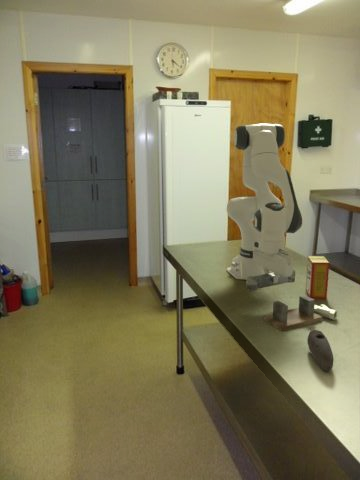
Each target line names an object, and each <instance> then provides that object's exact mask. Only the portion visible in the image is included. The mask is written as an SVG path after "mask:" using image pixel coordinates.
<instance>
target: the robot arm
mask: <svg viewBox="0 0 360 480" xmlns="http://www.w3.org/2000/svg"><path fill="white" fill-rule="evenodd" d="M232 139H233V144H234V147H235V148H236V149H238V150H241V151H243V159H242V184H243V185H244V186H245V187H246V188H248V189H250V190H251V191H253V192H254V193H255V196H239V197H234V198H230V200H229V201H227V202H228V203H226V204H227V205H226V213H227V216H228V217H229V218H230V219H231V220H232V221H233V222H235V223H236V225H237V226H238V228H239V230H240V235H241V247H240V248H238V250H239V253H238V255H237V256H235V257H233V258H232V260H231V266H229V267H227V268H226V272H228V273H229V274H230V275H231V276H232V277H234V279H236V280H243V281H244V280H246V279H247V277H250V276H259V275H264V274H269V273H270V272H271V273H274V277H273V278H272V282H274V283H277V282H278V278H279V276H282V277H289V276H291V275H292V274H293V270H294V269H293V258H292V255H291V254H290V253H289V251H286V250H285V249H286V247H285V246H286V237H285V233H286V234H295V233H296V232H298V231H299V230H301V228H302V226H303V216H302V213H301V210H300V207H299V204H298V200H297V198H296V192H295V189H294V185H293V182H292V181H293V180H292V178H291V175H290V172H289V170H288V169H286V168H285V167H284V166H283V165H282V163H281V160H280V155H279V149H280V148H281V147H282V146H283V145H284V144H285V139H286V131H285V128H284V127H283V125H282V124H280V123H279V124H278V123H273V124H272V123H256V124H255V123H253V124H247V125H245V124H242V125H239V126H237V127H236V128H235V129H234V133H233V137H232ZM269 183H271V184H273V185H275V186H277V187H278V188H279V189H280V191H281V195H282V198H283V203H284V205H283V204H282V201H281V200H280V199H279V198H278V197H277V196H276V195H275V194H274V193H273V192H272V190H271V189H270V186H269Z"/></svg>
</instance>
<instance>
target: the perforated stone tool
mask: <svg viewBox="0 0 360 480" xmlns="http://www.w3.org/2000/svg"><path fill="white" fill-rule="evenodd" d="M307 345H308V350H309V352H310V354H311V355H312V356H311V357H313V359H314V361H315V362H316V363H317V364H318V366H319V367H320V368H321V369H322V370H323V371H324V372H325V373H329V372H331V371H332V369H333V367H334V354H333V351H332V347H331V344H330V341H329V340H328V339H327V337H326V336H325V334H324V333H323V331H321V330H316V329H313V330H311V331H309V333H308V336H307Z"/></svg>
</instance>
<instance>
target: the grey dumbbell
mask: <svg viewBox="0 0 360 480" xmlns="http://www.w3.org/2000/svg"><path fill="white" fill-rule="evenodd" d="M273 277H274V272H269V274H264V275H259V276H250V277H247V279H246V285H245V288H246V290H248V291H257V290H259V289H264V288H268V287H269V288H270V287H272V286H277V285H283V284H286V283H287V284H288V283H295V281H296V270H294V269H293V274H292V275H291V276H289V277H282V276H279V278H278V282H277V283H274V282H272V278H273Z"/></svg>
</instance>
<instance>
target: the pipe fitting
mask: <svg viewBox="0 0 360 480" xmlns="http://www.w3.org/2000/svg"><path fill="white" fill-rule="evenodd" d="M314 313H316V314H318V315H320V316H322V318H326V319H330V320H332V321H335V320H336V319H337V316H338V311H337V310H336V309H333V308H330V307H328V306H327V305H326V304H324V303H322V304H319V305H317V304H314Z"/></svg>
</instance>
